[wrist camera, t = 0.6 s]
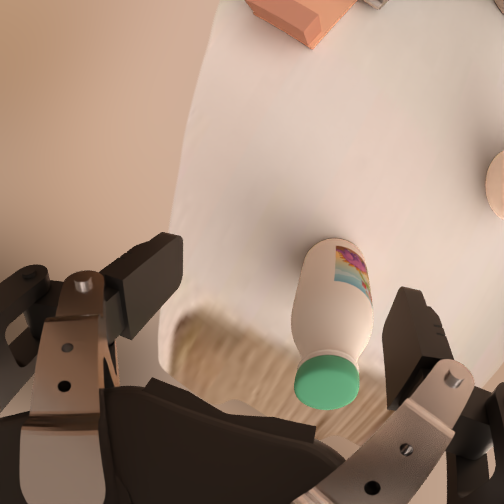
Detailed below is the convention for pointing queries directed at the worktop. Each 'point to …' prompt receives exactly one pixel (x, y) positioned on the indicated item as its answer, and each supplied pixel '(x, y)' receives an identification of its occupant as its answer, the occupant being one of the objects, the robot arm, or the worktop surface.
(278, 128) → the worktop surface
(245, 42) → the worktop surface
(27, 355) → the robot arm
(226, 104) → the worktop surface
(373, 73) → the worktop surface
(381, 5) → the grey square block
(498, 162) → the base with upright slab
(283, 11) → the peach l-shaped block
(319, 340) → the milk bottle
